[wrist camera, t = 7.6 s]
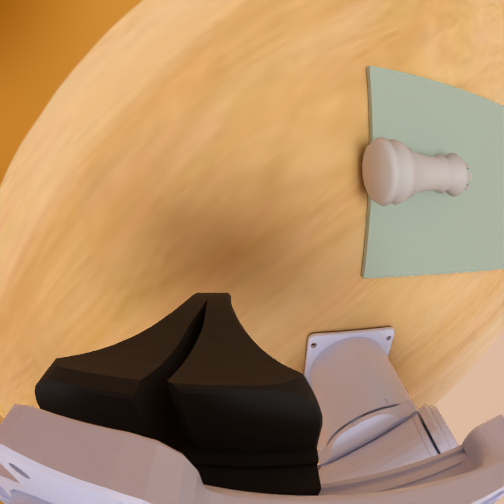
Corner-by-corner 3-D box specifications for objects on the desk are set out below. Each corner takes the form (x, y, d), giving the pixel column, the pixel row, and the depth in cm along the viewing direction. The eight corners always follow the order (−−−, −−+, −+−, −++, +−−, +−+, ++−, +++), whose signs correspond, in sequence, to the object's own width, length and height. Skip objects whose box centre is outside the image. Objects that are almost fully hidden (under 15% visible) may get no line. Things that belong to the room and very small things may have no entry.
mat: (499, 267, 22) (503, 269, 21) (361, 275, 22) (363, 278, 21) (511, 111, 17) (515, 111, 16) (366, 67, 17) (369, 65, 16)
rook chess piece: (356, 144, 19) (440, 150, 19) (363, 207, 19) (445, 204, 20) (387, 128, 14) (476, 141, 15) (396, 206, 15) (482, 205, 15)
